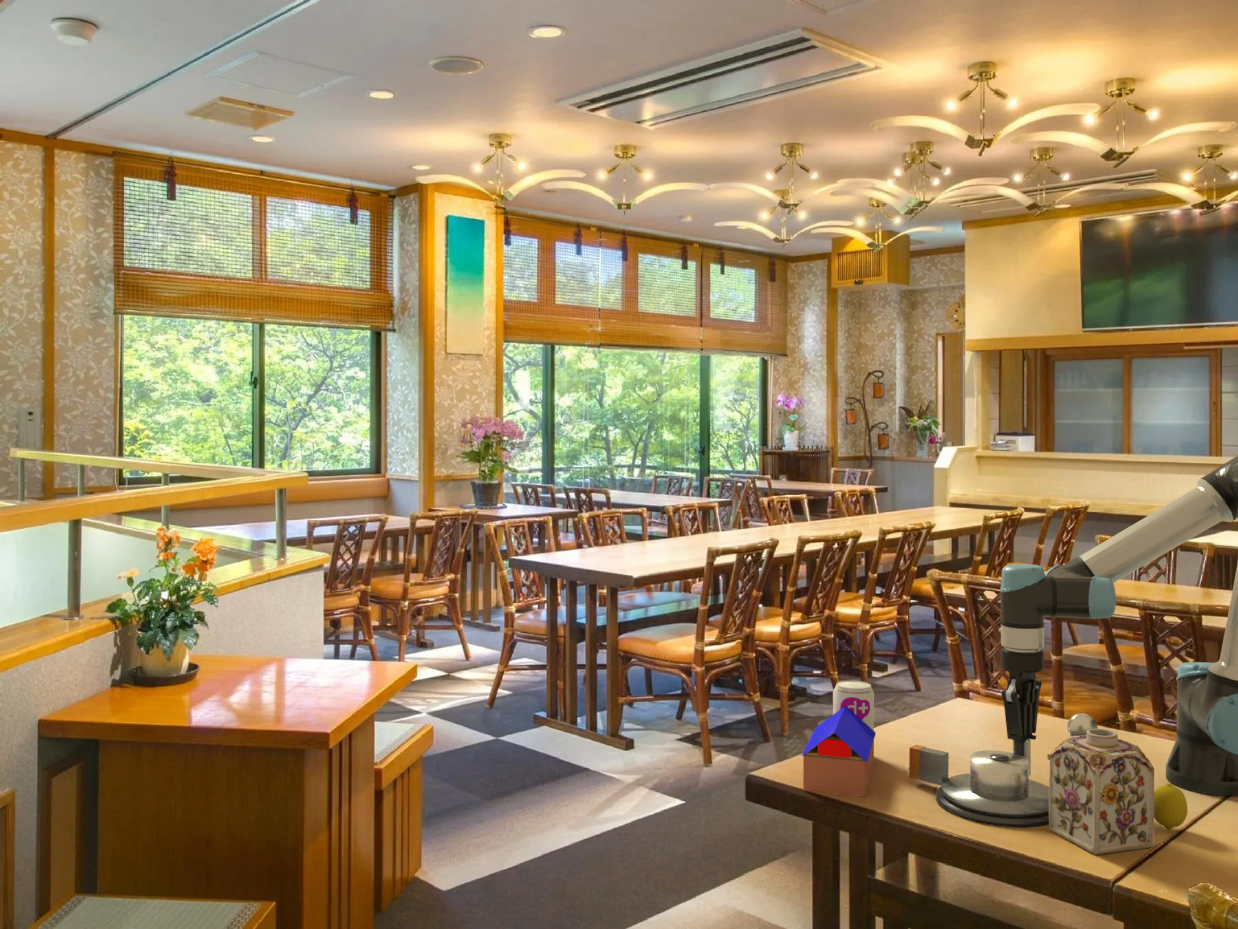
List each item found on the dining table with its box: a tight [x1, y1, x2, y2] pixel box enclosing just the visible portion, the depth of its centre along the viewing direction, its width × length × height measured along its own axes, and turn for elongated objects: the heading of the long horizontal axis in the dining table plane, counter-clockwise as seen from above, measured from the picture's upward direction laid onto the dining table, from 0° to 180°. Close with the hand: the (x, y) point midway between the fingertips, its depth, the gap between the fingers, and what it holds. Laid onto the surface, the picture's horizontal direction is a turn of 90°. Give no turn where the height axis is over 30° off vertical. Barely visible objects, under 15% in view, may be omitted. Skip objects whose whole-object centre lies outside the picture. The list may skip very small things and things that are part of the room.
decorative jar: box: [1048, 728, 1155, 856], centre depth 178 cm, size 12×12×18 cm
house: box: [801, 706, 876, 798], centre depth 209 cm, size 12×20×12 cm, turn 162°
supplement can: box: [832, 680, 875, 732], centre depth 222 cm, size 8×8×15 cm
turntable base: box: [935, 785, 1049, 828], centre depth 194 cm, size 22×22×1 cm
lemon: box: [1154, 782, 1188, 831], centre depth 182 cm, size 6×6×8 cm
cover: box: [969, 749, 1030, 801], centre depth 194 cm, size 10×10×6 cm
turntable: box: [908, 744, 1049, 818], centre depth 197 cm, size 27×20×6 cm
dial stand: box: [1047, 713, 1099, 761], centre depth 196 cm, size 8×4×16 cm, turn 86°
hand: (1021, 774), depth 200 cm, fingers closed
